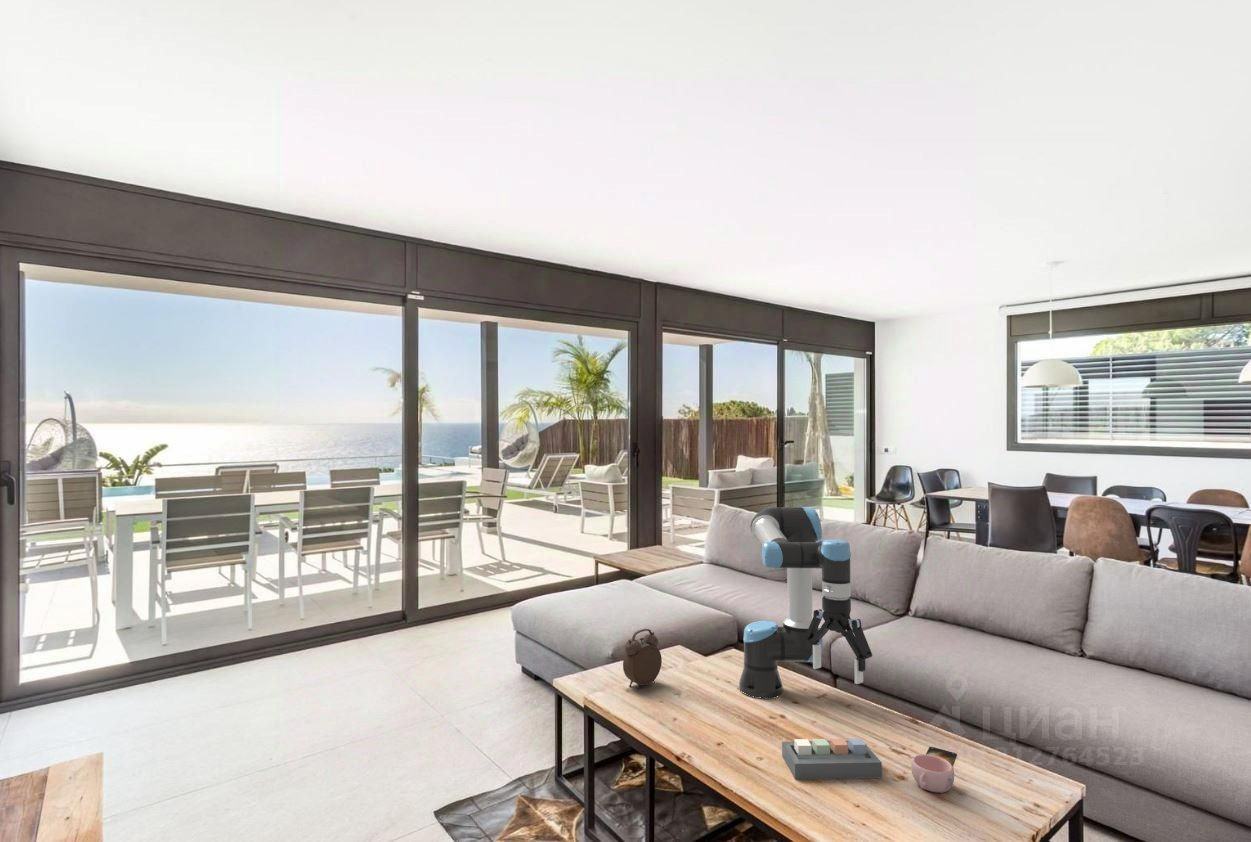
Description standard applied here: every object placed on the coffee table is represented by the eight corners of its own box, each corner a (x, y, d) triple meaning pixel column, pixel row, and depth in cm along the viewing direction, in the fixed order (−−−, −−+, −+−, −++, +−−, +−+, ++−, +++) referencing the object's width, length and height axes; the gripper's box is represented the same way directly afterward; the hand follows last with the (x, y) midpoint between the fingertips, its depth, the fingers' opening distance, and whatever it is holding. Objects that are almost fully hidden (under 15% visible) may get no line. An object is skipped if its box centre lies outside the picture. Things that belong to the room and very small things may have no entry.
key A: (848, 747, 172) (848, 738, 172) (861, 747, 173) (861, 738, 173) (853, 753, 169) (853, 744, 169) (866, 753, 169) (866, 744, 169)
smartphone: (957, 753, 177) (948, 775, 165) (957, 755, 177) (948, 778, 165) (929, 745, 181) (918, 767, 169) (929, 748, 181) (918, 769, 169)
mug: (921, 772, 168) (921, 749, 168) (960, 787, 160) (960, 763, 160) (900, 788, 160) (900, 765, 160) (941, 805, 152) (941, 780, 152)
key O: (794, 748, 172) (794, 739, 172) (807, 748, 172) (807, 739, 172) (798, 754, 168) (798, 745, 168) (811, 754, 168) (811, 745, 168)
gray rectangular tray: (782, 756, 176) (782, 741, 176) (862, 754, 177) (862, 740, 177) (795, 779, 164) (794, 763, 164) (881, 777, 165) (881, 762, 165)
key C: (812, 747, 172) (812, 739, 172) (825, 747, 172) (825, 738, 172) (816, 754, 168) (816, 745, 169) (829, 754, 169) (829, 745, 169)
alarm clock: (649, 677, 234) (649, 623, 235) (663, 683, 229) (663, 627, 229) (619, 687, 225) (619, 631, 225) (632, 693, 219) (632, 635, 220)
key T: (830, 747, 172) (830, 738, 172) (843, 747, 172) (843, 738, 172) (835, 754, 169) (835, 745, 169) (848, 754, 169) (848, 744, 169)
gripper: (791, 590, 181) (792, 664, 180) (868, 608, 161) (869, 692, 160) (808, 586, 185) (809, 659, 184) (885, 604, 165) (886, 686, 164)
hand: (837, 675), depth 172 cm, fingers open, 13 cm apart
